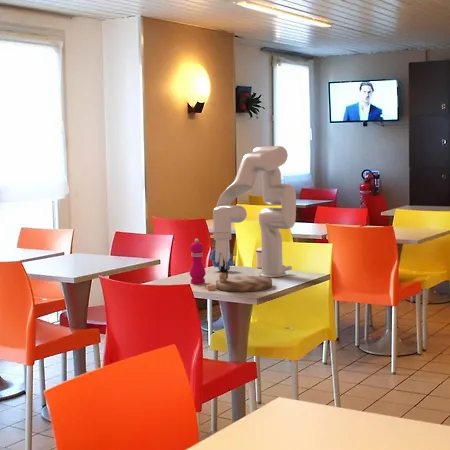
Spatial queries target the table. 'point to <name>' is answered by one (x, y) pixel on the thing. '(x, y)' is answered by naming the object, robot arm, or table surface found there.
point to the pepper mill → (197, 263)
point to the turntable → (243, 283)
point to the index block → (209, 287)
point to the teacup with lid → (259, 257)
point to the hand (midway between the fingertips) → (223, 278)
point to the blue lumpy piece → (218, 262)
